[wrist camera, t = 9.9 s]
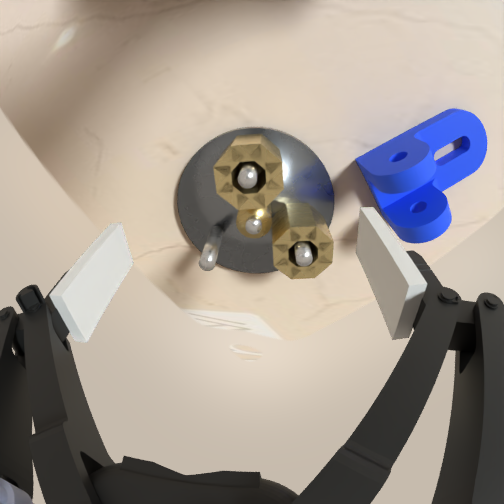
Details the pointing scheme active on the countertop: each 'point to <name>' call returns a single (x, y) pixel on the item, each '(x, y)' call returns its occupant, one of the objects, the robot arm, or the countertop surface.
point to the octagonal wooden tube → (267, 180)
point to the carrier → (260, 212)
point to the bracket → (423, 173)
